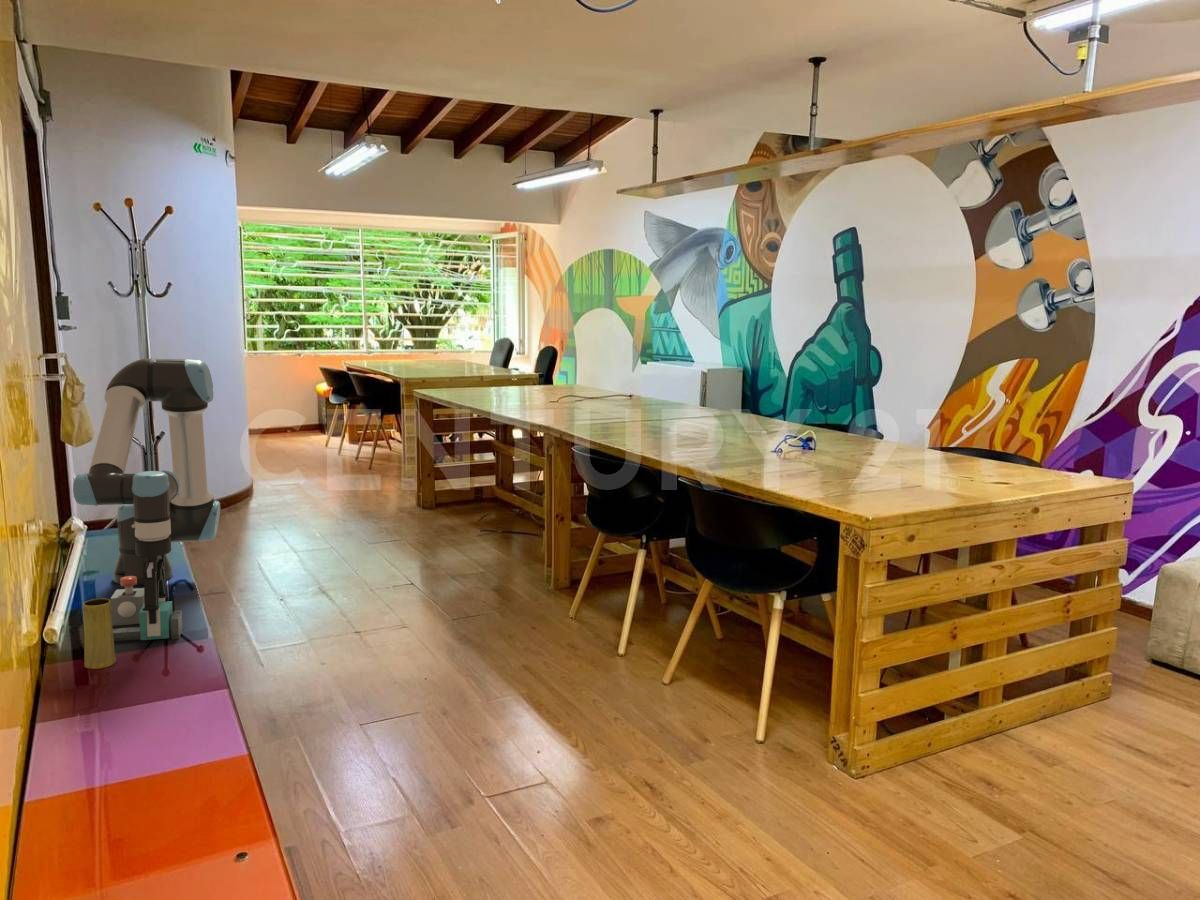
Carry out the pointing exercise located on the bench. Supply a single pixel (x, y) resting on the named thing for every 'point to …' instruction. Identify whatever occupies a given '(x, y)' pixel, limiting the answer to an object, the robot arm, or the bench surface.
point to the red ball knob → (128, 584)
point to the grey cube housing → (126, 607)
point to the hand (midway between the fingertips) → (156, 629)
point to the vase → (98, 634)
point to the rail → (135, 633)
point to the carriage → (164, 621)
